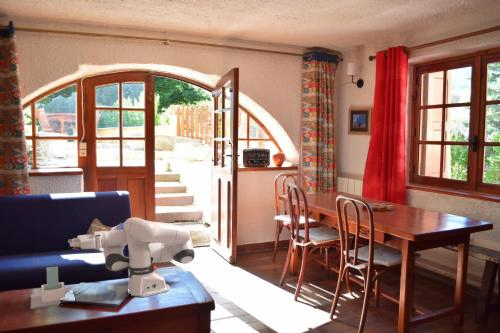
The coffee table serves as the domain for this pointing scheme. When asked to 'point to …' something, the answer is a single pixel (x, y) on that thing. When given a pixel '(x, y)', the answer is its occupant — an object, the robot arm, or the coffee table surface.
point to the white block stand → (48, 296)
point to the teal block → (52, 278)
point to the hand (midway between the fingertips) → (69, 243)
